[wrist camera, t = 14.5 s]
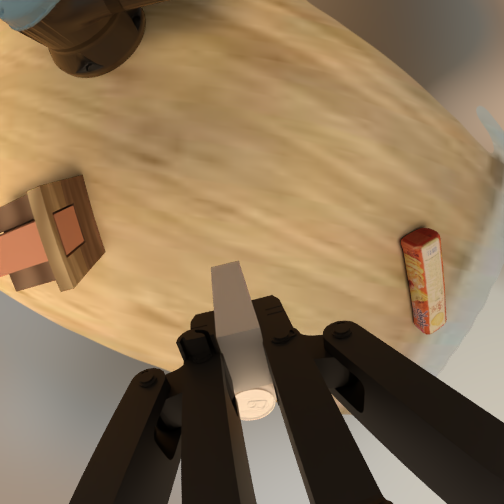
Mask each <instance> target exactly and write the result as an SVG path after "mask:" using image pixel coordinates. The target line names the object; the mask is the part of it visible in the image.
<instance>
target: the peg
mask: <svg viewBox="0 0 504 504" xmlns="http://www.w3.org/2000/svg"><path fill="white" fill-rule="evenodd" d="M52 214H53V217H54V221H55V224H56V227H57V230H58V233H59V236H60V239H61V242H62V245H63V248H64V251H65V254H66V255H68V254H69V253H70V252H71V251H72V250H74V249H75V248H76V247H77V246H78V245H80V244H81V243H82V242H83V241H84V239H83V236H82V233H81V230H80V226H79V223H78V220H77V217H76V213H75V210H74V206H70V207H68V208H65V209H62V210H59V211H57V212H54V213H52ZM47 261H48V258H47V256H46V253H45V250H44V247H43V244H42V241H41V238H40V235H39V232H38V229H37V226H36V223H35V220H34V221H31V222H29V223H26V224H24V225H21V226H19V227H17V228H14V229H12V230H10V231H7V232H5V233H3V234H1V235H0V277H1V276H4V275H7V274H10V273H13V272H16V271H19V270H22V269H25V268H28V267H31V266H34V265H37V264H40V263H44V262H47Z"/></svg>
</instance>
